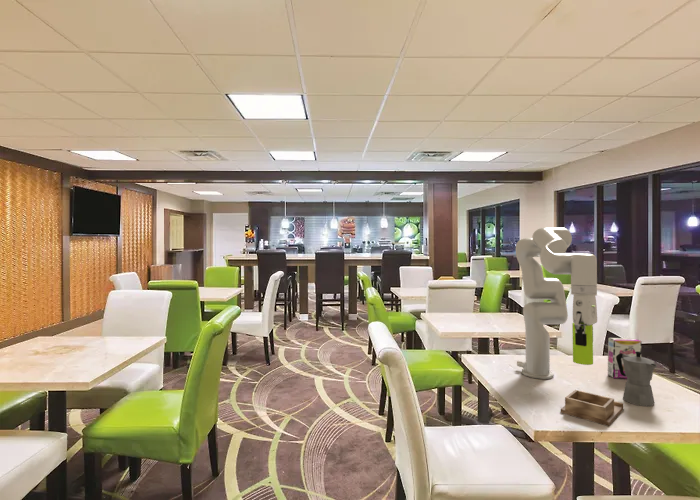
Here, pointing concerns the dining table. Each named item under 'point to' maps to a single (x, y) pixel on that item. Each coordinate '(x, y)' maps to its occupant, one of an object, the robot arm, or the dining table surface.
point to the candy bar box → (620, 346)
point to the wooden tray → (592, 407)
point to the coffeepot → (637, 378)
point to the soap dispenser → (583, 347)
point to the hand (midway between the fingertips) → (584, 343)
